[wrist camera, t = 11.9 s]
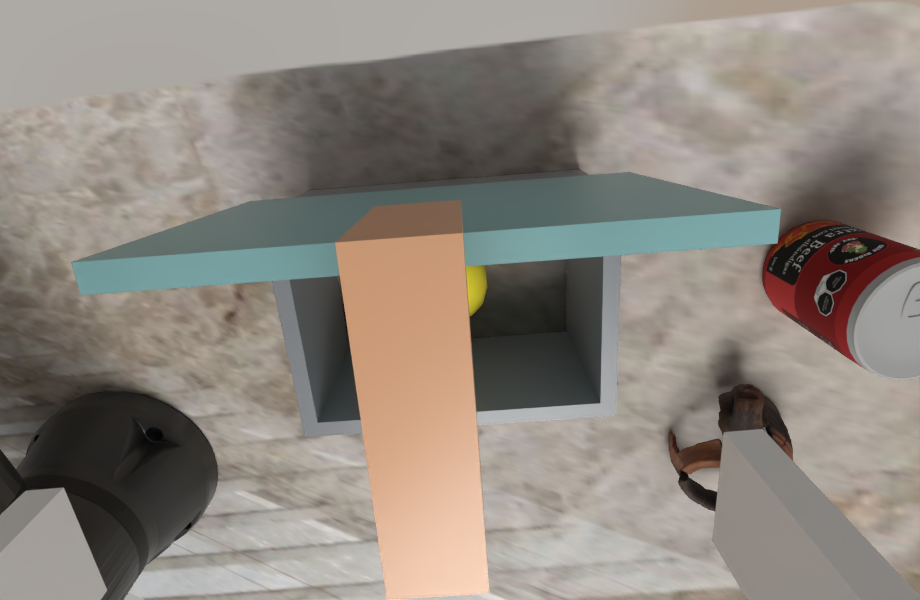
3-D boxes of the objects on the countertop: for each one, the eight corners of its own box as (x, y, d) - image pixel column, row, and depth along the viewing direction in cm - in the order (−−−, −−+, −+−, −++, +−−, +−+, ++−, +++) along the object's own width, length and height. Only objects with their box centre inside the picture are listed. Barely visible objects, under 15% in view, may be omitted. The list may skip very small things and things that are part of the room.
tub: (338, 358, 45) (304, 437, 35) (309, 190, 40) (260, 224, 30) (578, 341, 45) (615, 415, 35) (579, 169, 40) (623, 196, 30)
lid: (4, 624, 13) (-140, 278, 10) (274, 329, 32) (246, 182, 29) (883, 568, 13) (956, 196, 10) (626, 304, 32) (629, 153, 29)
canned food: (844, 200, 41) (975, 237, 31) (867, 289, 44) (994, 350, 33) (745, 245, 42) (839, 295, 32) (773, 329, 45) (868, 400, 35)
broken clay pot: (784, 452, 50) (787, 535, 44) (674, 435, 54) (664, 508, 48) (802, 358, 43) (808, 441, 37) (673, 346, 47) (662, 419, 41)
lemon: (484, 304, 44) (487, 340, 40) (417, 303, 44) (413, 339, 40) (487, 223, 41) (491, 252, 36) (415, 222, 41) (410, 251, 36)
